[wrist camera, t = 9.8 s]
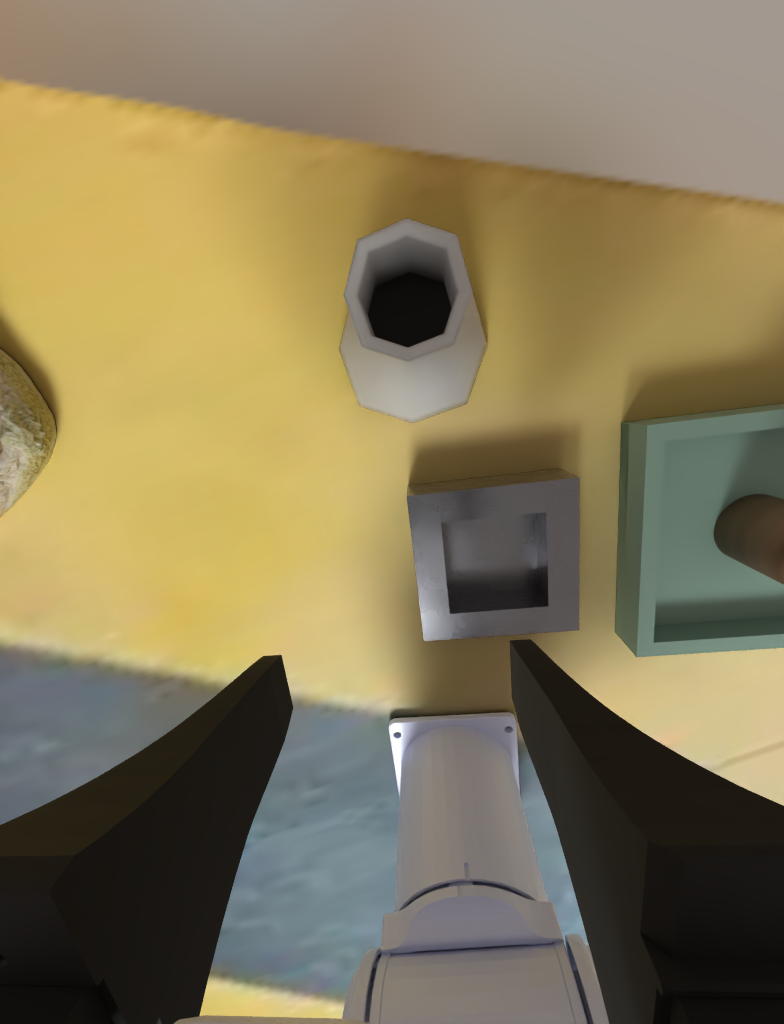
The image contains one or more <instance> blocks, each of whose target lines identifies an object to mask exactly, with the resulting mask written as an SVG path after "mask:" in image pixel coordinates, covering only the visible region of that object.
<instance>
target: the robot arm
mask: <svg viewBox="0 0 784 1024" xmlns="http://www.w3.org/2000/svg"><path fill="white" fill-rule="evenodd" d="M510 658H511V684H512V699H513V703H514V707H515V711H516V715H517V719H518V722H519V726H520V730H521V733H522V736H523V738H524V741H525V744H526V746H527V749H528V752H529V754H530V757H531V760H532V762H533V765H534V768H535V770H536V773H537V776H538V778H539V781H540V784H541V786H542V789H543V792H544V794H545V797H546V799H547V802H548V805H549V807H550V810H551V813H552V816H553V819H554V822H555V825H556V828H557V831H558V835H559V838H560V842H561V845H562V849H563V852H564V856H565V859H566V863H567V866H568V870H569V873H570V877H571V881H572V884H573V888H574V892H575V895H576V899H577V902H578V906H579V910H580V913H581V917H582V921H583V924H584V928H585V932H586V936H587V940H588V943H589V946H588V945H586V944H585V943H584V941H583V939H582V938H581V937H580V936H579V935H578V934H570V935H565V942H566V948H567V951H566V948H565V945H564V942H563V937H562V933H561V930H560V926H559V922H558V919H557V915H556V911H555V908H554V904H553V903H552V902H551V901H548V899H547V895H546V891H545V888H544V884H543V880H542V876H541V872H540V869H539V865H538V861H537V857H536V853H535V849H534V846H533V842H532V838H531V834H530V830H529V827H528V823H527V819H526V815H525V811H524V807H523V804H522V800H521V796H520V786H519V766H518V746H517V726H516V719H515V716H514V715H513V714H512V713H509V712H502V713H483V714H465V715H446V716H428V717H409V718H394V719H392V720H391V721H390V722H389V734H390V740H391V746H392V753H393V759H394V766H395V772H396V778H397V785H398V791H399V798H400V802H399V824H398V846H397V868H396V891H395V912H394V913H389V914H385V915H384V916H383V927H382V942H381V947H377V948H370V949H368V950H367V951H366V952H365V954H364V956H363V957H362V959H361V962H360V964H359V967H358V968H357V970H356V972H355V973H354V975H353V977H352V980H351V982H350V985H349V989H348V992H347V996H346V1001H345V1006H344V1011H343V1017H342V1019H328V1018H287V1017H246V1016H199V1015H200V1011H201V1006H202V1002H203V998H204V993H205V989H206V985H207V981H208V977H209V973H210V969H211V965H212V961H213V957H214V953H215V949H216V945H217V942H218V938H219V934H220V930H221V926H222V922H223V919H224V915H225V911H226V908H227V904H228V901H229V897H230V894H231V890H232V886H233V883H234V879H235V876H236V872H237V869H238V866H239V863H240V859H241V856H242V853H243V849H244V846H245V843H246V839H247V836H248V833H249V830H250V828H251V825H252V822H253V819H254V816H255V814H256V811H257V809H258V807H259V804H260V802H261V799H262V797H263V794H264V792H265V789H266V787H267V784H268V782H269V779H270V777H271V774H272V772H273V769H274V767H275V764H276V761H277V759H278V756H279V754H280V751H281V749H282V746H283V743H284V741H285V737H286V734H287V730H288V727H289V723H290V719H291V714H292V710H293V705H292V700H291V696H290V691H289V687H288V682H287V678H286V673H285V669H284V664H283V660H282V656H281V655H274V656H263V657H262V658H260V659H259V660H258V661H256V662H255V663H254V664H253V665H251V666H250V667H249V668H248V669H247V670H245V671H244V672H243V673H242V674H241V675H240V676H238V677H237V678H236V679H235V680H234V681H233V682H231V683H230V684H229V685H228V686H227V687H226V688H224V689H223V690H222V691H221V692H220V693H218V694H217V695H216V696H215V697H214V698H212V699H211V700H210V701H209V702H207V703H206V704H205V705H204V706H202V707H201V708H200V709H199V710H197V711H196V712H195V713H193V714H192V715H191V716H190V717H188V718H187V719H186V720H185V721H183V722H182V723H181V724H179V725H178V726H177V727H175V728H174V729H172V730H171V731H170V732H168V733H167V734H165V735H164V736H163V737H161V738H160V739H158V740H157V741H155V742H154V743H152V744H151V745H149V746H148V747H146V748H145V749H143V750H142V751H140V752H139V753H137V754H135V755H134V756H132V757H130V758H129V759H127V760H125V761H124V762H122V763H120V764H119V765H117V766H115V767H114V768H112V769H110V770H109V771H107V772H105V773H104V774H102V775H100V776H99V777H97V778H95V779H93V780H91V781H90V782H88V783H86V784H84V785H82V786H80V787H78V788H77V789H75V790H73V791H71V792H69V793H67V794H65V795H63V796H61V797H59V798H57V799H55V800H53V801H51V802H49V803H47V804H45V805H43V806H41V807H39V808H37V809H35V810H33V811H30V812H28V813H26V814H24V815H22V816H19V817H17V818H15V819H13V820H11V821H9V822H6V823H4V824H2V825H0V1024H784V806H783V805H780V804H778V803H776V802H774V801H771V800H769V799H767V798H765V797H762V796H760V795H758V794H756V793H753V792H751V791H749V790H747V789H744V788H742V787H740V786H738V785H736V784H734V783H732V782H730V781H728V780H726V779H724V778H722V777H720V776H718V775H716V774H714V773H712V772H711V771H709V770H707V769H705V768H703V767H701V766H699V765H697V764H695V763H694V762H692V761H690V760H688V759H686V758H684V757H683V756H681V755H679V754H678V753H676V752H674V751H672V750H671V749H669V748H667V747H666V746H664V745H662V744H661V743H659V742H657V741H656V740H654V739H652V738H651V737H649V736H648V735H646V734H644V733H643V732H641V731H640V730H638V729H637V728H635V727H634V726H632V725H631V724H630V723H628V722H627V721H625V720H624V719H622V718H621V717H619V716H618V715H616V714H615V713H614V712H612V711H611V710H610V709H608V708H607V707H606V706H604V705H603V704H602V703H601V702H599V701H598V700H597V699H595V698H594V697H593V696H592V695H590V694H589V693H588V692H587V691H586V690H584V689H583V688H582V687H581V686H580V685H579V684H578V683H576V682H575V681H574V680H573V679H572V678H571V677H570V676H569V675H567V674H566V673H565V672H564V671H563V670H562V669H561V668H560V667H559V666H558V665H557V664H556V663H554V662H553V661H552V660H551V659H550V658H549V657H548V656H547V655H546V654H545V653H544V652H543V651H542V650H541V649H540V648H539V647H538V646H537V645H536V644H535V643H534V642H533V641H532V640H531V639H528V640H513V641H510ZM507 726H510V728H505V727H507ZM395 732H399V733H395Z"/></svg>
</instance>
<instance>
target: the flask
mask: <svg viewBox="0 0 784 1024" xmlns="http://www.w3.org/2000/svg"><path fill="white" fill-rule="evenodd" d="M344 298H345V300H346V303H347V306H348V309H349V312H348V316H347V320H346V324H345V328H344V332H343V335H342V339H341V343H340V347H339V351H340V354H341V356H342V359H343V362H344V365H345V367H346V370H347V373H348V376H349V378H350V381H351V384H352V387H353V389H354V392H355V395H356V398H357V401H358V403H359V406H361V407H364V408H367V409H370V410H373V411H377V412H380V413H383V414H386V415H389V416H392V417H395V418H398V419H401V420H404V421H408V422H411V423H415V422H417V421H420V420H423V419H426V418H429V417H431V416H434V415H437V414H440V413H442V412H445V411H448V410H451V409H454V408H456V407H459V406H462V405H465V404H467V402H468V399H469V396H470V393H471V390H472V387H473V385H474V382H475V379H476V376H477V373H478V370H479V368H480V365H481V362H482V359H483V356H484V353H485V350H486V348H487V341H486V338H485V334H484V330H483V327H482V323H481V320H480V316H479V312H478V309H477V305H476V301H475V298H474V294H473V290H472V287H471V283H470V280H469V277H468V273H467V269H466V266H465V262H464V258H463V255H462V251H461V247H460V244H459V240H458V236H457V235H456V234H453V233H450V232H447V231H444V230H441V229H438V228H435V227H432V226H429V225H426V224H423V223H420V222H417V221H414V220H411V219H408V218H405V219H403V220H401V221H399V222H396V223H394V224H392V225H390V226H387V227H385V228H383V229H381V230H378V231H376V232H374V233H372V234H369V235H367V236H365V237H363V238H360V239H358V240H357V243H356V247H355V252H354V256H353V260H352V264H351V268H350V272H349V276H348V280H347V284H346V288H345V292H344Z"/></svg>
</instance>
